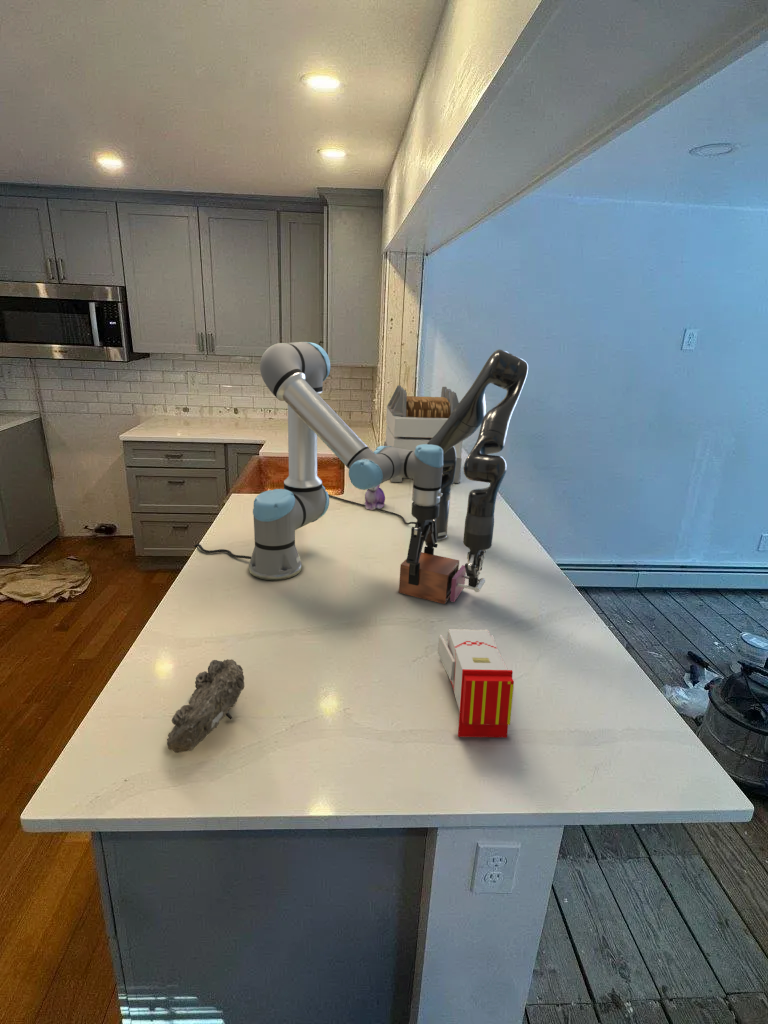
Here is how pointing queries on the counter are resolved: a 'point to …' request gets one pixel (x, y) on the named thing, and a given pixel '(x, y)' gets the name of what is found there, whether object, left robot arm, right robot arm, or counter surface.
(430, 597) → the cabinet
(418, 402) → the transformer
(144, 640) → the counter surface
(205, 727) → the fossil
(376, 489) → the figurine
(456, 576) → the drawer
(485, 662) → the toy
